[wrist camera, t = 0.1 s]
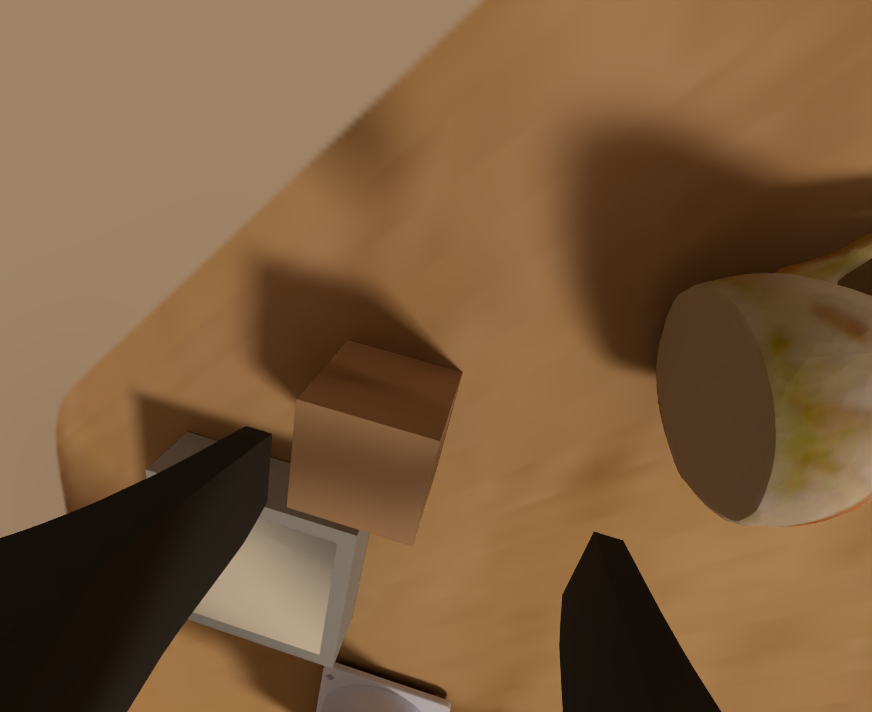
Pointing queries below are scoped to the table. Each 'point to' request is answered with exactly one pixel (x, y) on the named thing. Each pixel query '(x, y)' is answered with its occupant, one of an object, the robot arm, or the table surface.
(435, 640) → the table surface
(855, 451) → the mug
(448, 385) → the walnut cube
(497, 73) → the table surface
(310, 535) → the grey plinth
